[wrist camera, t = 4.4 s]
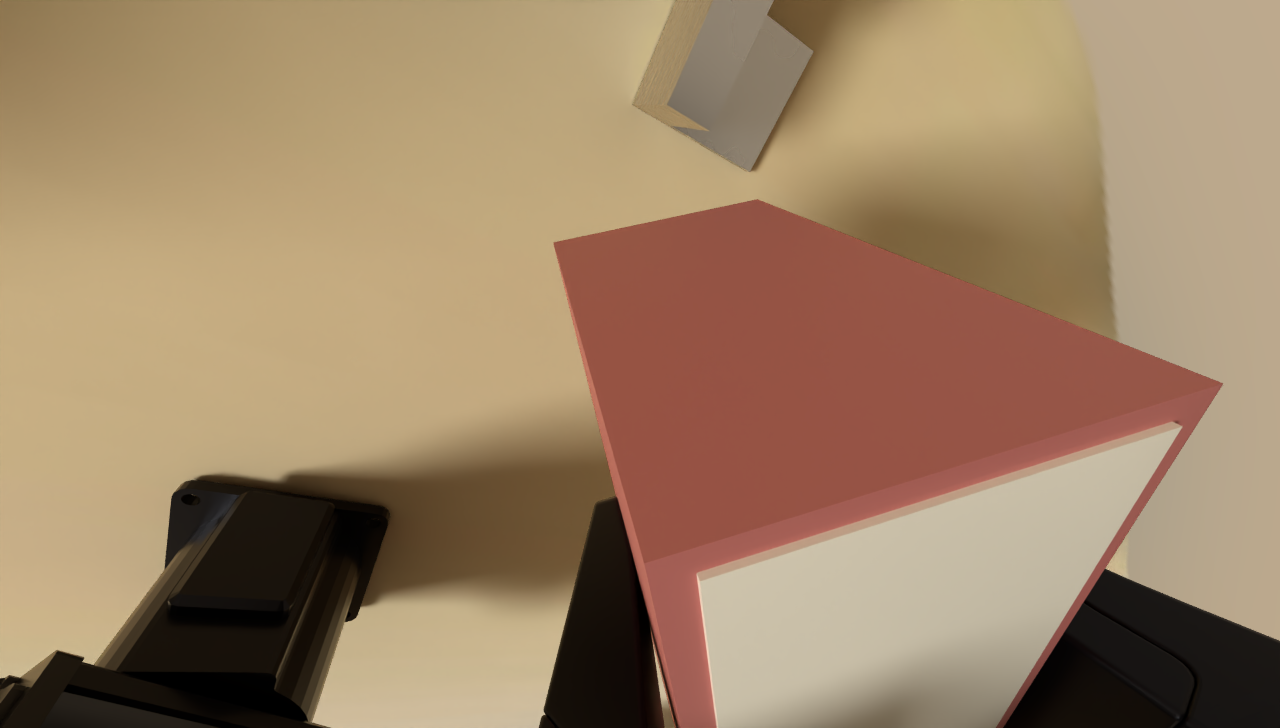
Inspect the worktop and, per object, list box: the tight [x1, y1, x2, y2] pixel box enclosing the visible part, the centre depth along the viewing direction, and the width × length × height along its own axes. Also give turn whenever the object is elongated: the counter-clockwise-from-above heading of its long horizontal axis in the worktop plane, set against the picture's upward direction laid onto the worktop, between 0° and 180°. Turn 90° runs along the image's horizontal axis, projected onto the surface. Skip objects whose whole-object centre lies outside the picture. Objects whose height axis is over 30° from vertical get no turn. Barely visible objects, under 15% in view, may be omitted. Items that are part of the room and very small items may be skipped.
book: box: [554, 199, 1223, 728], centre depth 7 cm, size 9×4×6 cm, turn 8°
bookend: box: [632, 0, 814, 172], centre depth 12 cm, size 4×4×4 cm
